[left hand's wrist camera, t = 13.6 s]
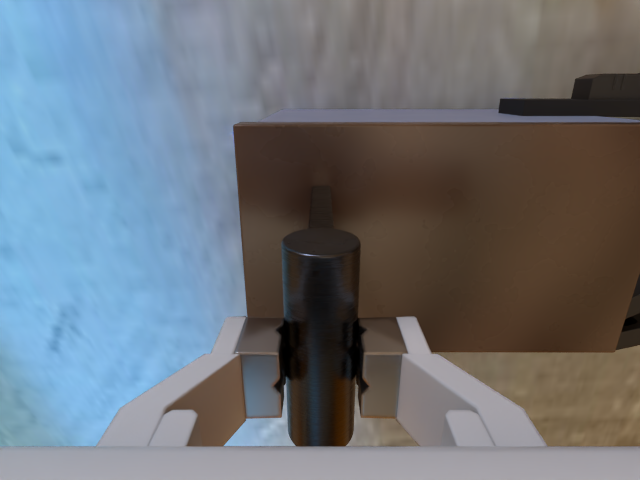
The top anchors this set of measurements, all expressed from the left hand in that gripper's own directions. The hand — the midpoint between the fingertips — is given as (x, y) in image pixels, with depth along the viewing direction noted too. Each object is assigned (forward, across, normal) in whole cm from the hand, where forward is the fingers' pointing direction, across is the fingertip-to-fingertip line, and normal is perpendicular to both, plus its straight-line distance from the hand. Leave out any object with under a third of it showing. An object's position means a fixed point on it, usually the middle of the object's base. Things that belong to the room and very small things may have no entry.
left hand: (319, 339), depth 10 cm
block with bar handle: (+7, -5, 0) cm, 9 cm away
